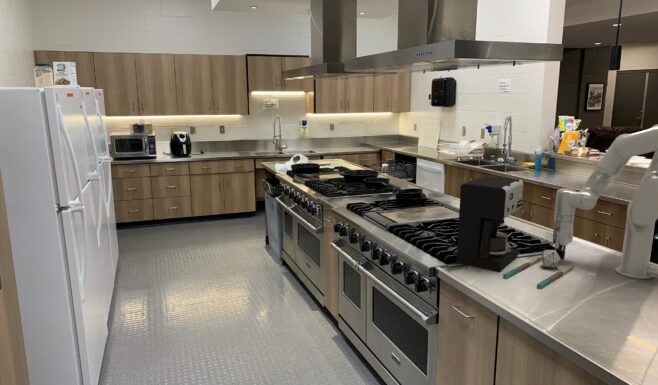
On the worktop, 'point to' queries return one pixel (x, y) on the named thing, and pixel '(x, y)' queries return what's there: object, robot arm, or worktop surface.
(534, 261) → the pair of wooden rods
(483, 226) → the coffee maker
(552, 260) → the game die
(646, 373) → the worktop surface
